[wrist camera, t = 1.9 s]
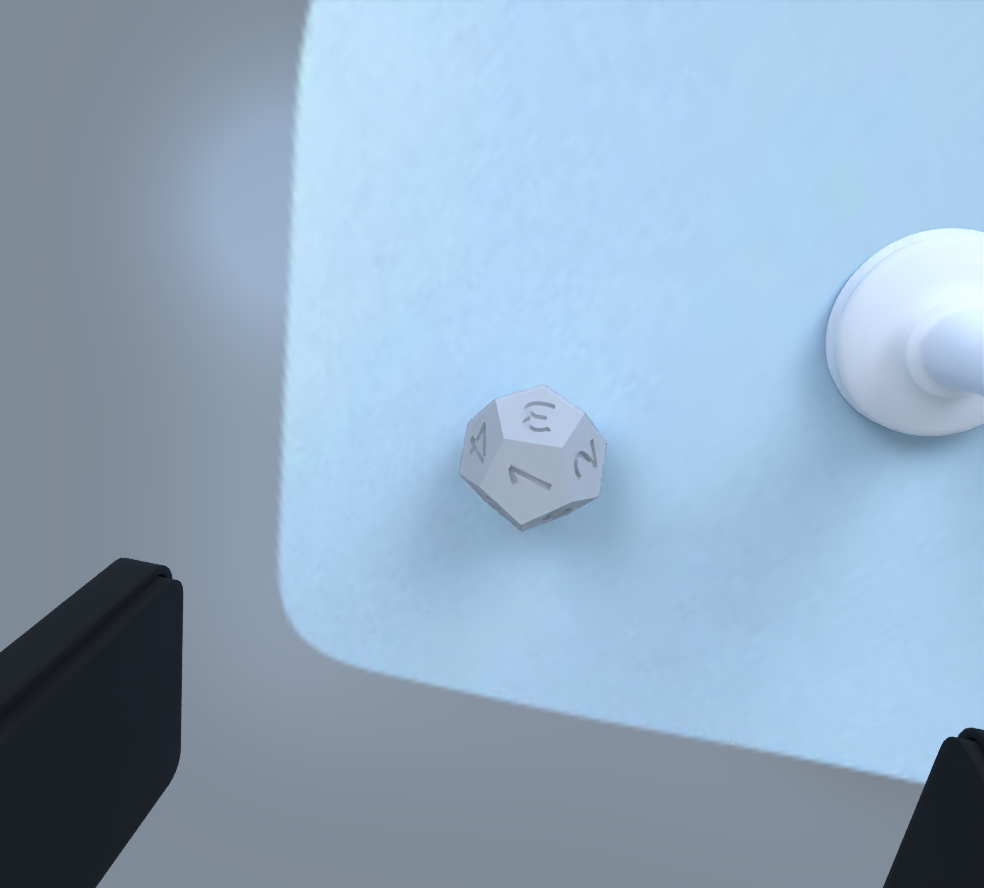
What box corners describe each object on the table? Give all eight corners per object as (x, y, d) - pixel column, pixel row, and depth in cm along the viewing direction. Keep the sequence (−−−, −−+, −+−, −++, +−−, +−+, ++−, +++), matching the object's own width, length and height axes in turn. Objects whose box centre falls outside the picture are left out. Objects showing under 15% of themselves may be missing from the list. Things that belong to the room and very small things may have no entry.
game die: (569, 522, 22) (565, 574, 19) (448, 464, 22) (425, 507, 19) (631, 413, 21) (635, 451, 18) (502, 351, 21) (487, 379, 18)
